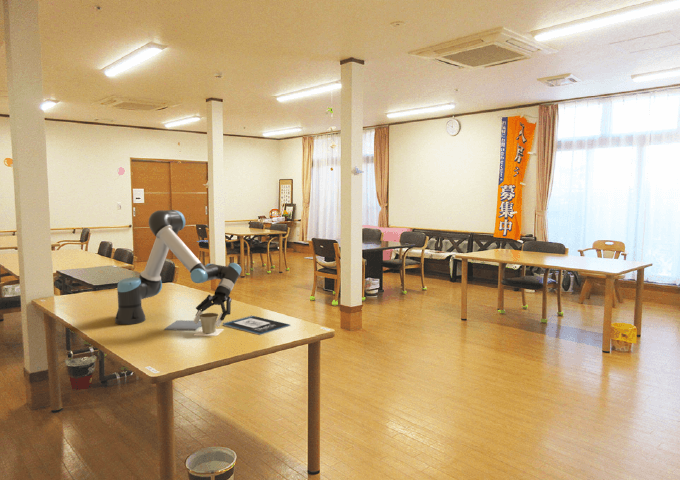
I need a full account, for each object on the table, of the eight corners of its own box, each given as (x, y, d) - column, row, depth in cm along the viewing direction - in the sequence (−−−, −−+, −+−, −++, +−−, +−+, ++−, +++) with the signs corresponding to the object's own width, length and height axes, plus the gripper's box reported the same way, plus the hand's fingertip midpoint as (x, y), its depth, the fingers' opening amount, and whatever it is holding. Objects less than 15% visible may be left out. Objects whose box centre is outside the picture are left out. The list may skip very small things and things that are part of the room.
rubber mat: (164, 329, 234) (164, 328, 234) (177, 321, 250) (177, 320, 250) (195, 330, 234) (195, 328, 234) (205, 322, 250) (205, 320, 249)
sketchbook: (260, 336, 226) (260, 332, 226) (221, 326, 244) (221, 322, 244) (290, 326, 243) (290, 322, 243) (251, 318, 261) (251, 314, 261)
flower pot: (213, 335, 225) (212, 317, 224) (195, 334, 227) (195, 316, 226) (221, 329, 234) (221, 313, 233) (204, 328, 236) (204, 312, 235)
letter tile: (192, 335, 225) (192, 335, 225) (201, 328, 237) (201, 328, 237) (217, 335, 224) (217, 335, 224) (224, 329, 236) (224, 328, 236)
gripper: (247, 295, 238) (229, 330, 226) (208, 291, 248) (190, 325, 235) (240, 286, 233) (222, 322, 220) (201, 283, 243) (182, 317, 230)
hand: (205, 324), depth 228 cm, fingers open, 13 cm apart
